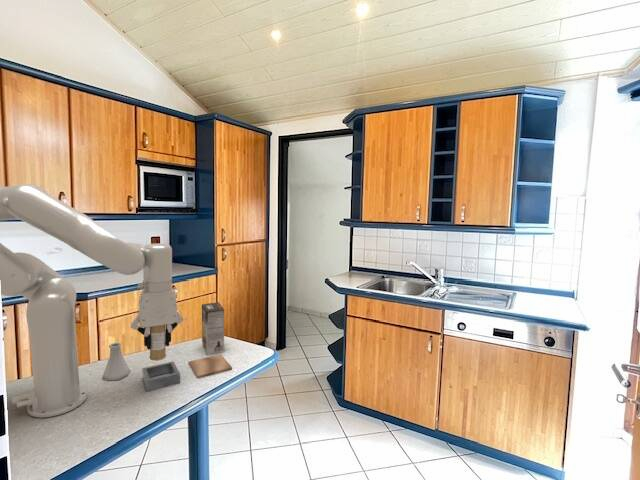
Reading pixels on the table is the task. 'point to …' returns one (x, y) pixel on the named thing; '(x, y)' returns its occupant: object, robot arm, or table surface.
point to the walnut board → (209, 366)
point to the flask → (116, 364)
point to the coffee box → (213, 328)
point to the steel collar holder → (163, 380)
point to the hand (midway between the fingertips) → (157, 345)
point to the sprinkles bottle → (158, 342)
